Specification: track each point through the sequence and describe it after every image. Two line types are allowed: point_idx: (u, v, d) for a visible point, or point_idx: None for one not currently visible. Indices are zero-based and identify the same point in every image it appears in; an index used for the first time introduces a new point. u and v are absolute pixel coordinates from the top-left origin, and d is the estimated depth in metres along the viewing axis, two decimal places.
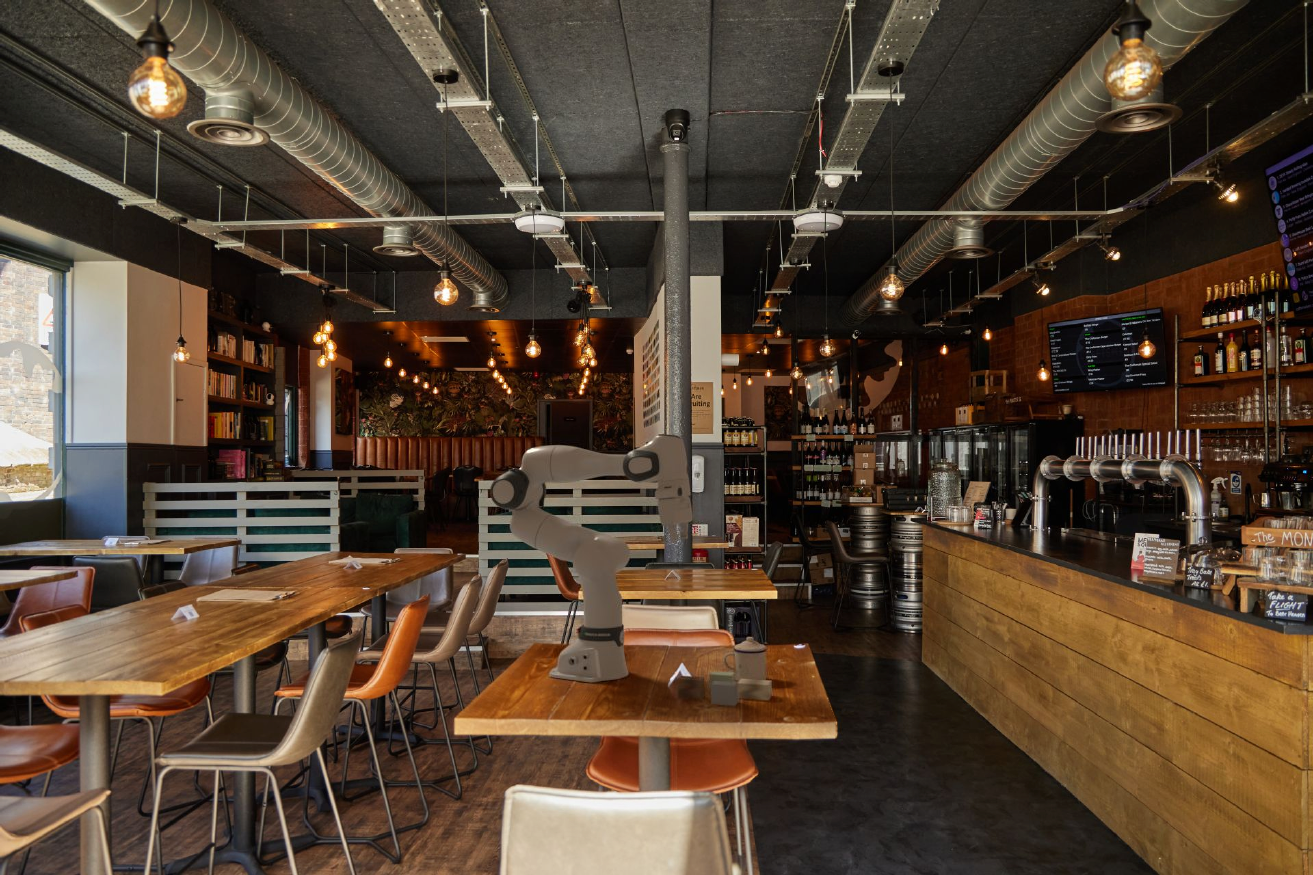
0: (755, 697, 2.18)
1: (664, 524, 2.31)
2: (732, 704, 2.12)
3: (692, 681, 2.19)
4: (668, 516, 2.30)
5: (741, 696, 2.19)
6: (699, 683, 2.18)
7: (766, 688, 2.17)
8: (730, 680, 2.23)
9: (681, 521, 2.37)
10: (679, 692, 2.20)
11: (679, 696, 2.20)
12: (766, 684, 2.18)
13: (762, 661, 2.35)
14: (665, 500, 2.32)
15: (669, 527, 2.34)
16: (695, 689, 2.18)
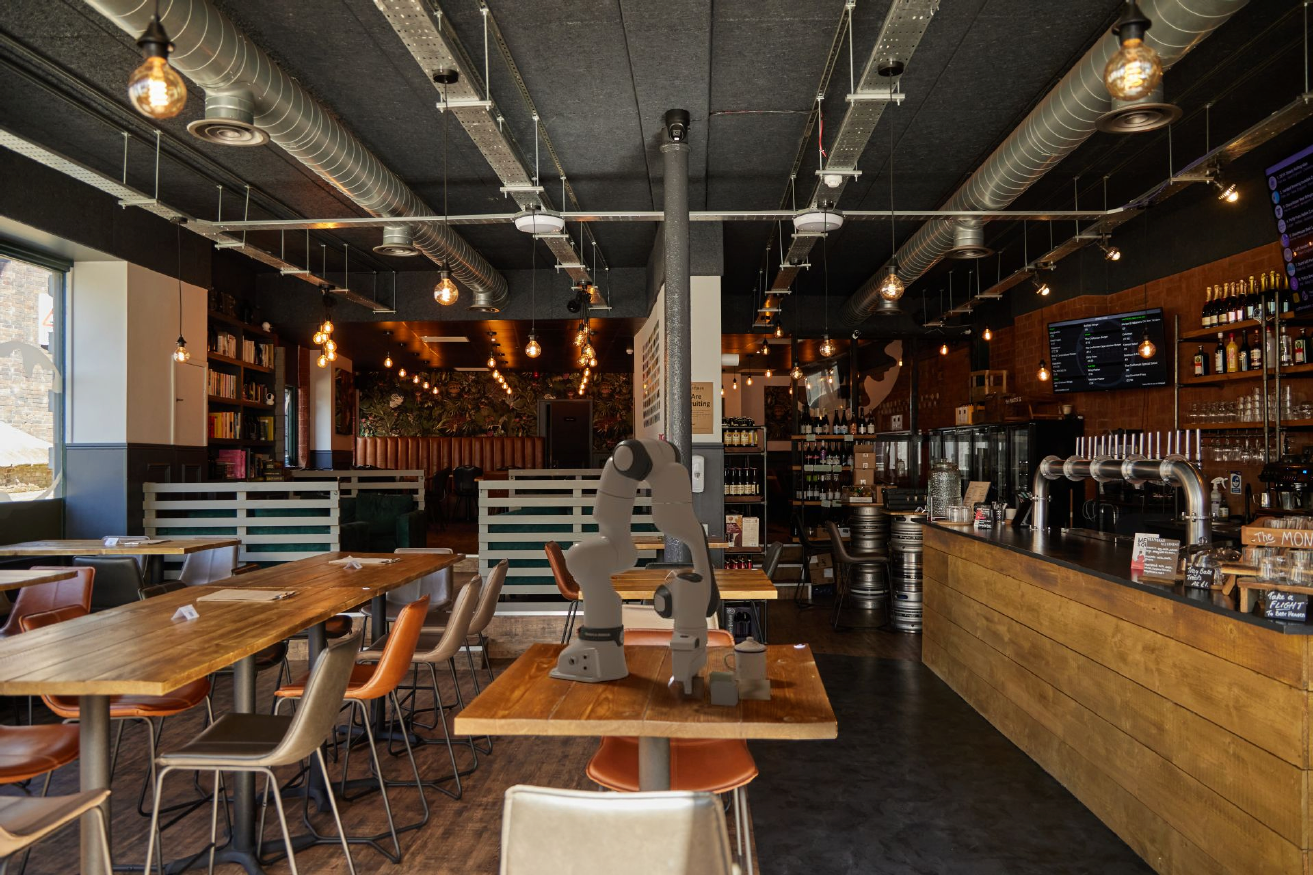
0: (757, 697, 2.18)
1: (677, 679, 2.12)
2: (732, 704, 2.12)
3: (692, 681, 2.19)
4: (682, 671, 2.11)
5: (743, 697, 2.18)
6: (699, 682, 2.18)
7: (768, 687, 2.18)
8: (730, 680, 2.23)
9: (695, 672, 2.18)
10: (679, 692, 2.20)
11: (679, 696, 2.20)
12: (767, 683, 2.19)
13: (762, 661, 2.35)
14: (680, 652, 2.13)
15: None
16: (695, 689, 2.18)
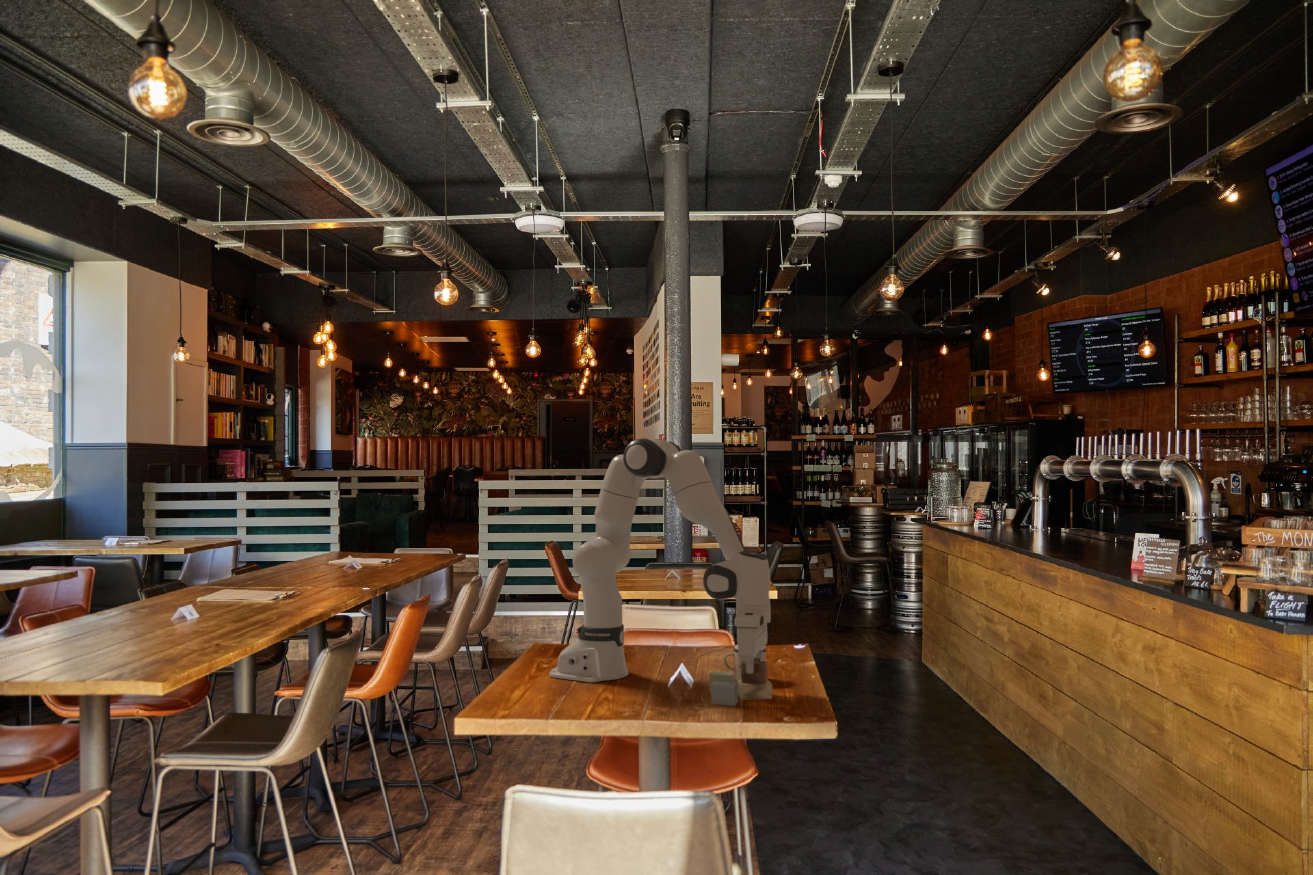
0: (759, 697, 2.18)
1: (742, 656, 2.12)
2: (732, 704, 2.12)
3: (756, 665, 2.19)
4: (748, 648, 2.11)
5: (745, 698, 2.18)
6: (763, 667, 2.18)
7: (770, 687, 2.19)
8: (730, 680, 2.23)
9: (758, 650, 2.18)
10: (742, 676, 2.20)
11: (742, 680, 2.20)
12: (769, 683, 2.19)
13: None
14: (745, 629, 2.13)
15: (746, 658, 2.15)
16: (759, 673, 2.19)
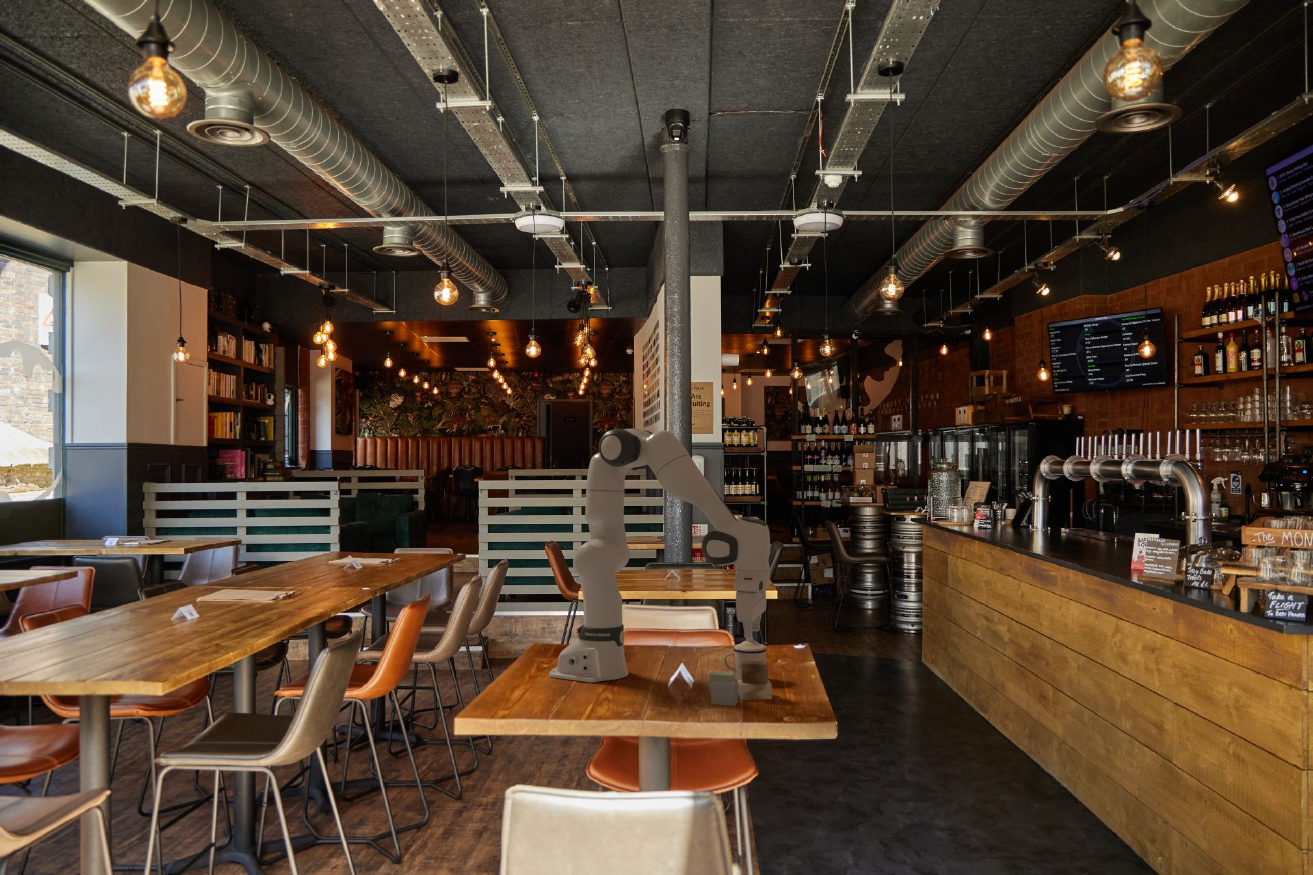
0: (759, 697, 2.18)
1: (741, 620, 2.12)
2: (732, 704, 2.12)
3: (756, 665, 2.19)
4: (747, 612, 2.12)
5: (745, 698, 2.18)
6: (764, 667, 2.18)
7: (770, 687, 2.18)
8: (730, 680, 2.23)
9: (757, 615, 2.19)
10: (743, 676, 2.20)
11: (743, 680, 2.20)
12: (768, 683, 2.19)
13: (762, 661, 2.35)
14: (744, 594, 2.13)
15: (744, 622, 2.15)
16: (759, 674, 2.18)
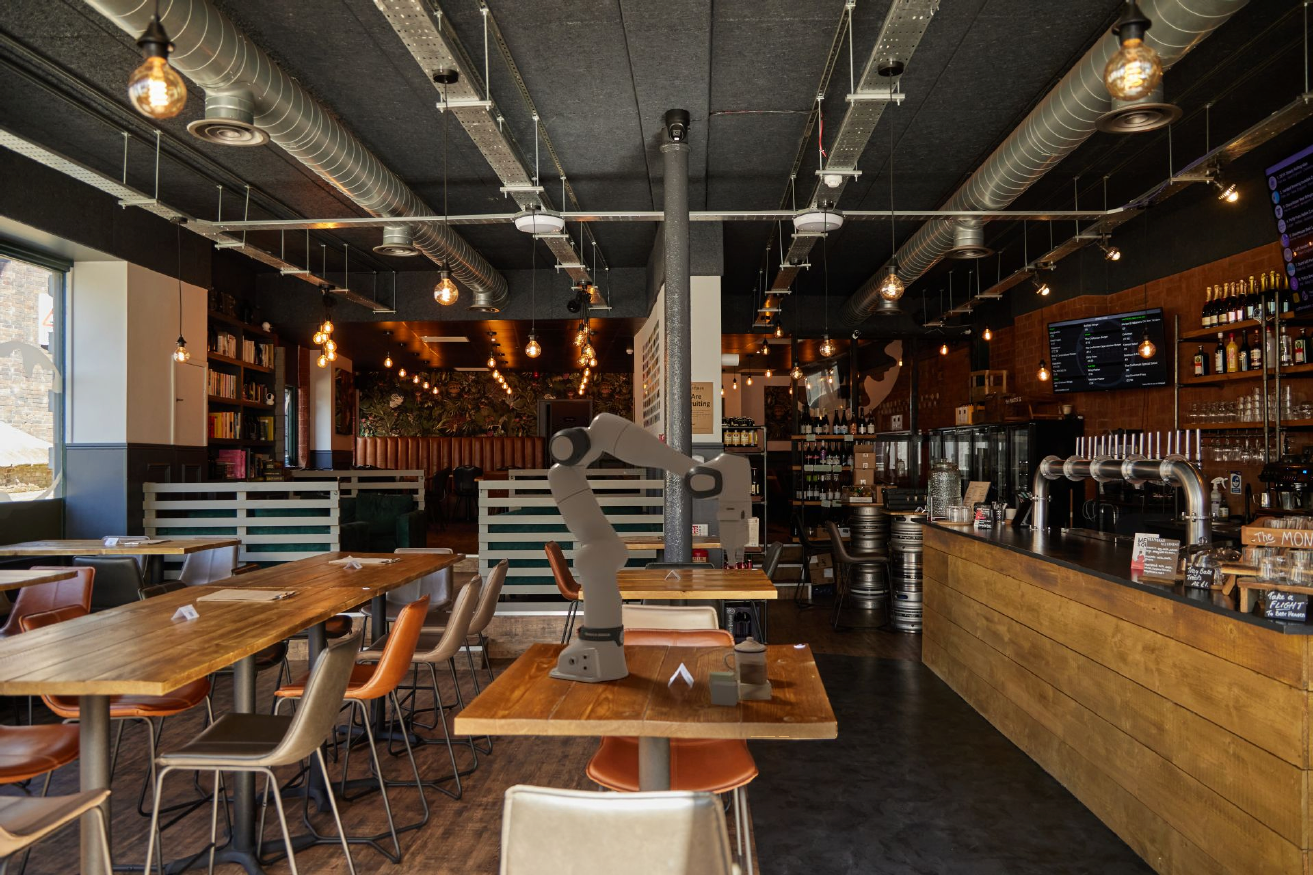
0: (758, 697, 2.18)
1: (724, 547, 2.21)
2: (732, 704, 2.12)
3: (754, 666, 2.19)
4: (729, 540, 2.21)
5: (744, 698, 2.18)
6: (761, 668, 2.18)
7: (769, 687, 2.18)
8: (730, 680, 2.23)
9: (740, 545, 2.28)
10: (741, 676, 2.20)
11: (741, 680, 2.20)
12: (768, 683, 2.19)
13: (762, 661, 2.35)
14: (727, 522, 2.22)
15: (728, 550, 2.24)
16: (757, 674, 2.18)
